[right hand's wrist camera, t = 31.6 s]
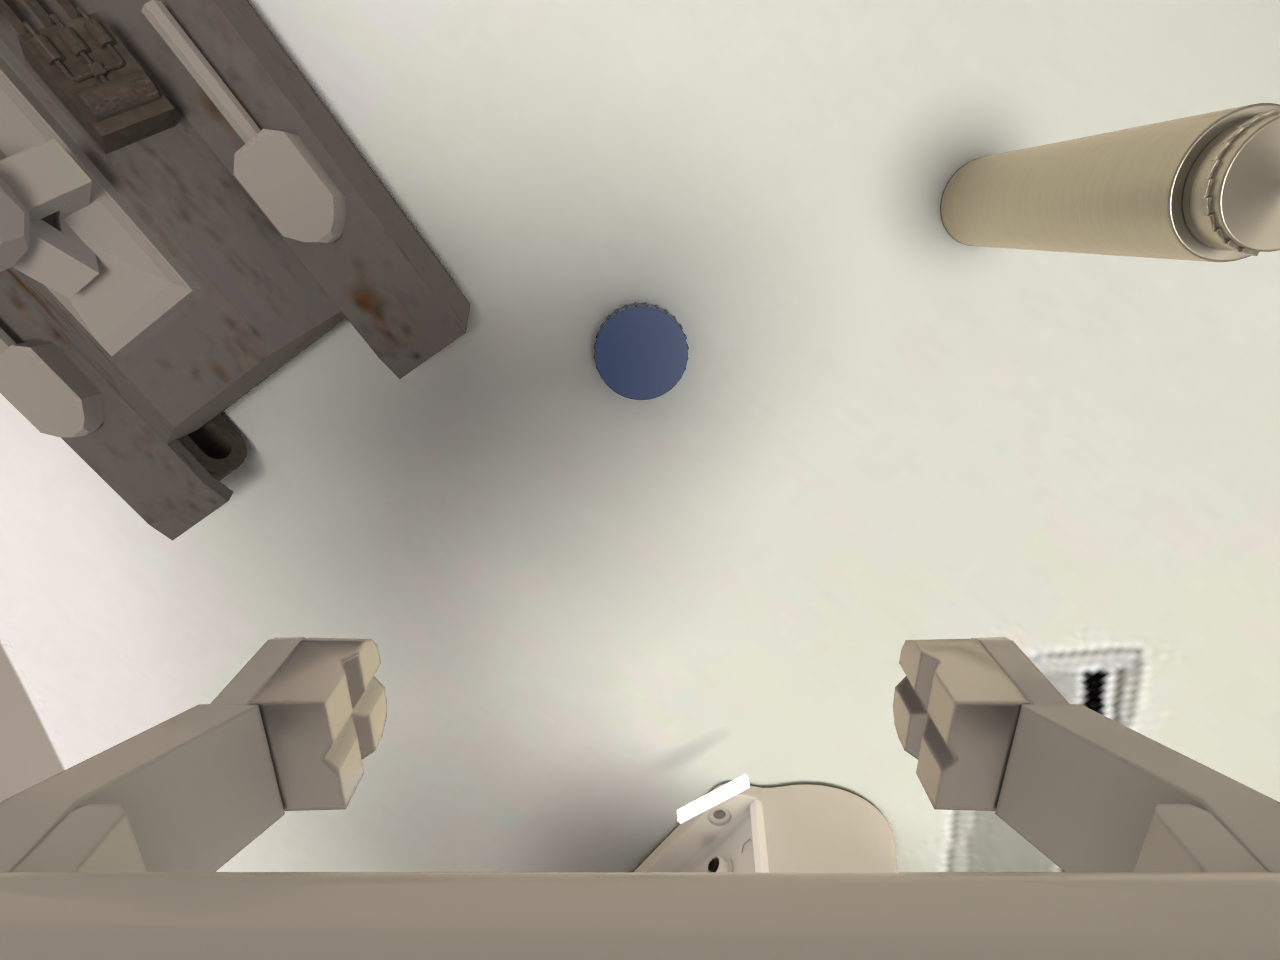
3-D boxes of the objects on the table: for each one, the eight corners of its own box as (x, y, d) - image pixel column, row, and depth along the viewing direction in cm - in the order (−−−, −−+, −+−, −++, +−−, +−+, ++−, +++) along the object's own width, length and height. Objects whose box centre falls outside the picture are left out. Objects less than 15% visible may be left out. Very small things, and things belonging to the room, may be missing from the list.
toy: (488, 318, 37) (395, 375, 23) (227, 506, 41) (11, 653, 27) (127, -177, 30) (-338, -539, 16) (-150, 111, 33) (-721, 30, 19)
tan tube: (957, 148, 34) (1256, 77, 18) (1037, 166, 34) (1405, 113, 18) (928, 236, 36) (1178, 247, 19) (1005, 253, 36) (1317, 278, 19)
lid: (674, 403, 39) (675, 410, 37) (586, 382, 38) (584, 389, 37) (697, 314, 37) (700, 318, 36) (606, 291, 37) (604, 295, 35)
